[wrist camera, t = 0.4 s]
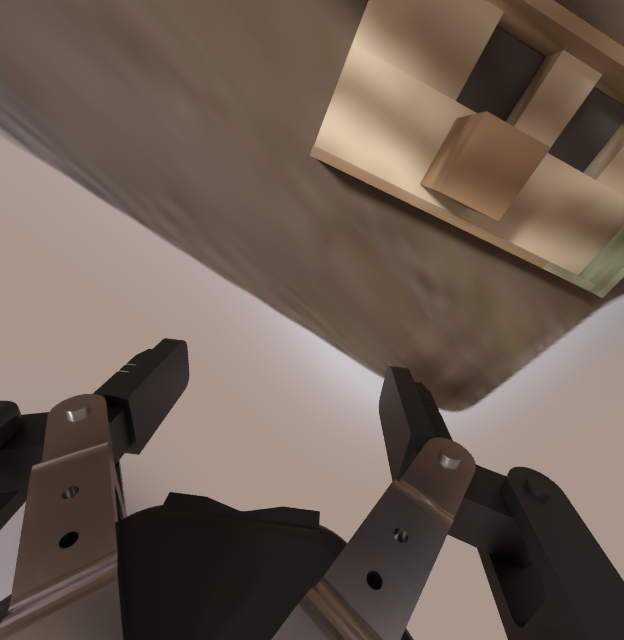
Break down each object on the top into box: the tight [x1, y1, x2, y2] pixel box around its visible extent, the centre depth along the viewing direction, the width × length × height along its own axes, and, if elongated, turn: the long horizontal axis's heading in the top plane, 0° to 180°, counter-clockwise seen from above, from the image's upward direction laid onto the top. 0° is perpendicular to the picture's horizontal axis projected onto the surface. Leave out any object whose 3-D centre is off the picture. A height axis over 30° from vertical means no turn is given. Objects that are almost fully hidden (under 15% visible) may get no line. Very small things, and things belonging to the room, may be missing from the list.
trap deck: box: [310, 0, 624, 298], centre depth 23 cm, size 13×28×5 cm, turn 67°
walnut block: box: [420, 111, 551, 221], centre depth 23 cm, size 5×5×5 cm
